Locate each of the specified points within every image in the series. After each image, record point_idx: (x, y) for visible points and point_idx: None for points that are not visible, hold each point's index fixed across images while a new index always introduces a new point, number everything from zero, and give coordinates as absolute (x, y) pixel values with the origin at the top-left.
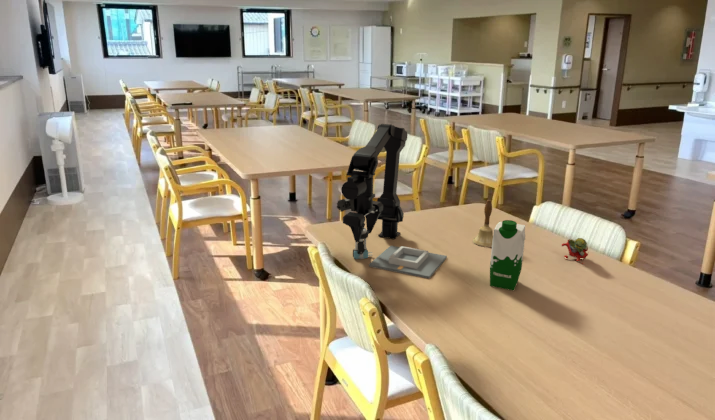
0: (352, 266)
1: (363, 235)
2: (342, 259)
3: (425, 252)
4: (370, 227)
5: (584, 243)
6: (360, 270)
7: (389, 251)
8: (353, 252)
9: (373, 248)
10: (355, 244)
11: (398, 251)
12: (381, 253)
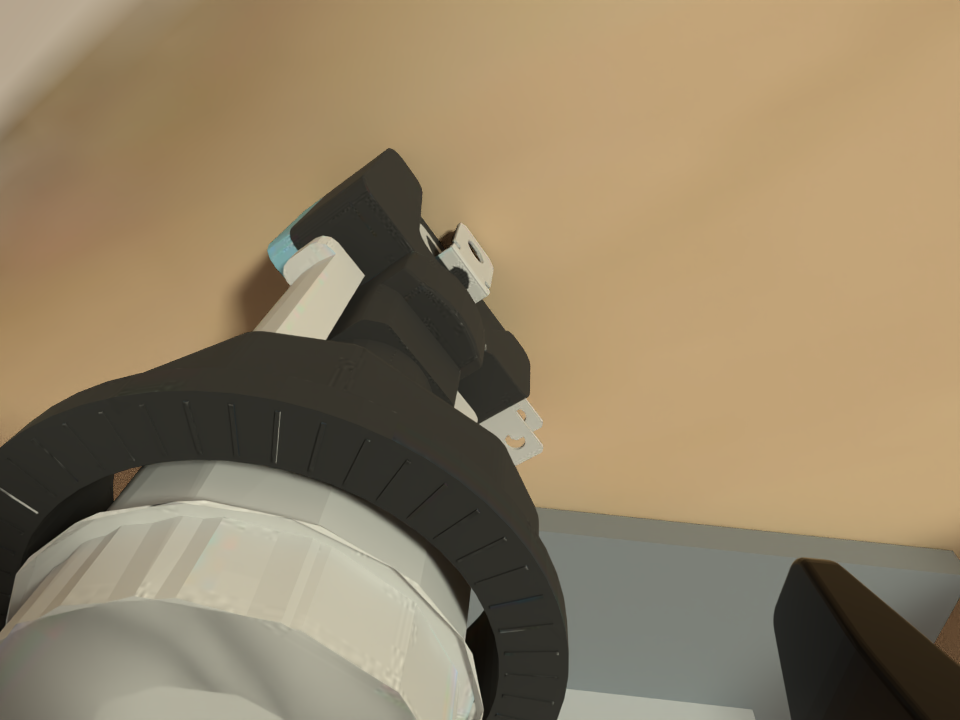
0: (57, 278)
1: None
2: (191, 3)
3: None
4: None
5: None
6: (23, 414)
7: (717, 604)
8: (326, 199)
9: (880, 344)
10: (274, 309)
11: None
12: (606, 538)
